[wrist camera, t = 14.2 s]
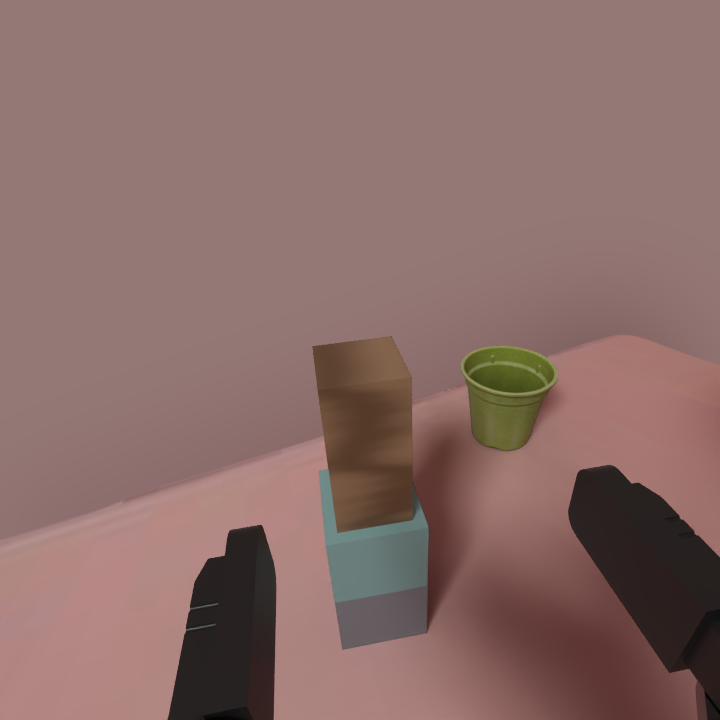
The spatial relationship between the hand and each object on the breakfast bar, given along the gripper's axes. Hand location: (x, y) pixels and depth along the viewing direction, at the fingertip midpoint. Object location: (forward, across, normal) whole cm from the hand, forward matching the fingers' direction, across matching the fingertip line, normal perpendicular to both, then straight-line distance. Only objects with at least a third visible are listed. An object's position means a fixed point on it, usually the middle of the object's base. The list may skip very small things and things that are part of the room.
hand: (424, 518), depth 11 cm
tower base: (+12, 0, +23) cm, 26 cm away
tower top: (+12, 0, +18) cm, 21 cm away
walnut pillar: (+12, 0, +12) cm, 17 cm away
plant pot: (+28, -16, +24) cm, 40 cm away
